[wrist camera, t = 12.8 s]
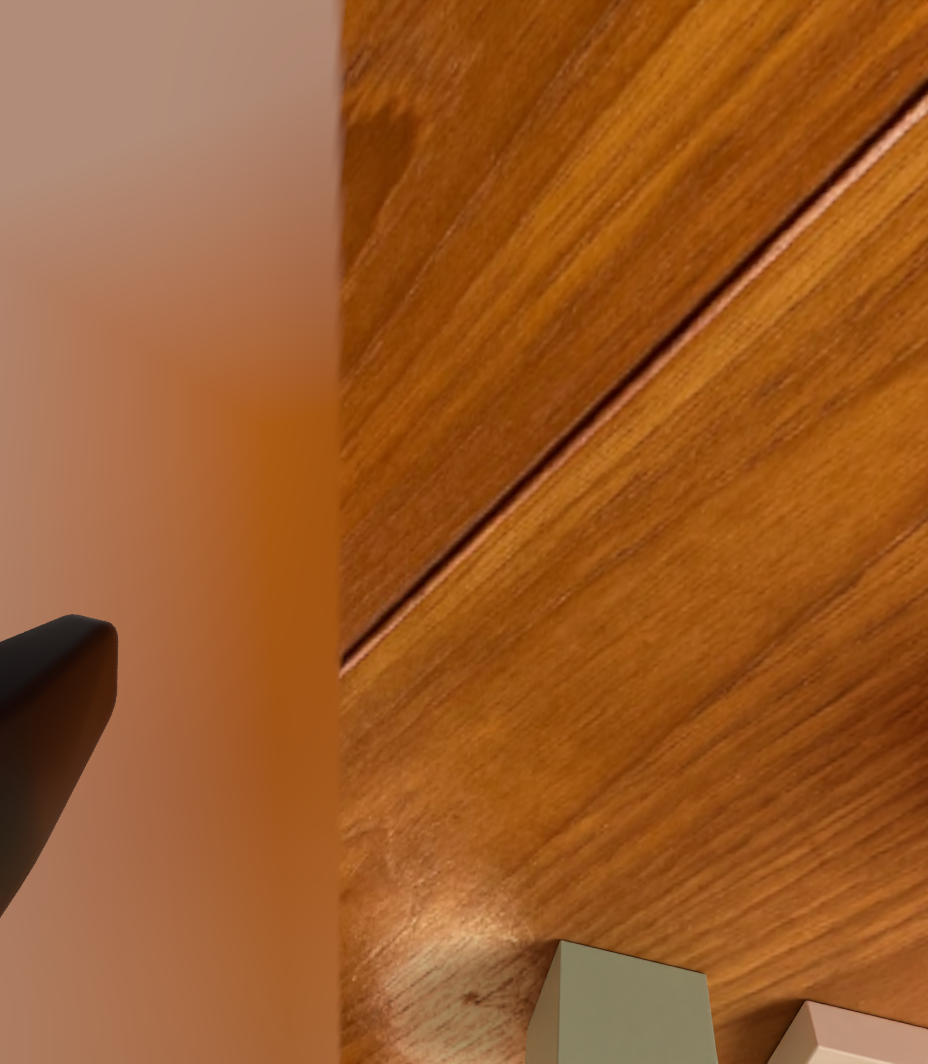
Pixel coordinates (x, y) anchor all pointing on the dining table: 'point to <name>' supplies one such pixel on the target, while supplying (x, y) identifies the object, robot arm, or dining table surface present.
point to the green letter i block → (619, 1012)
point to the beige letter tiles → (849, 1039)
